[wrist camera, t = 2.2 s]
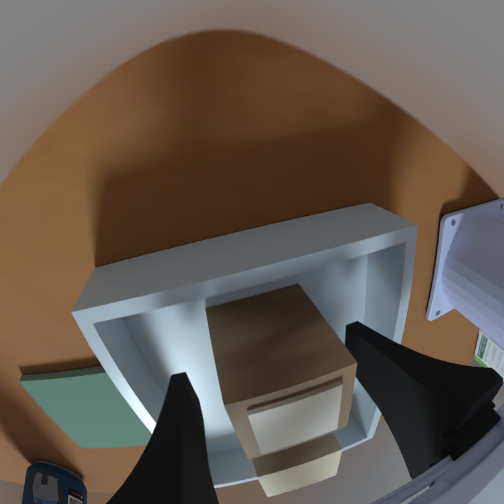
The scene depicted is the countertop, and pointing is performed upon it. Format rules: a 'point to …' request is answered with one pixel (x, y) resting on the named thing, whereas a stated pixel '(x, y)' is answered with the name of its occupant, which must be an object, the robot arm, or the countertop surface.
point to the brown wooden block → (280, 370)
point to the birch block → (298, 465)
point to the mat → (87, 407)
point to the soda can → (52, 485)
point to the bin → (237, 287)
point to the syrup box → (489, 354)
